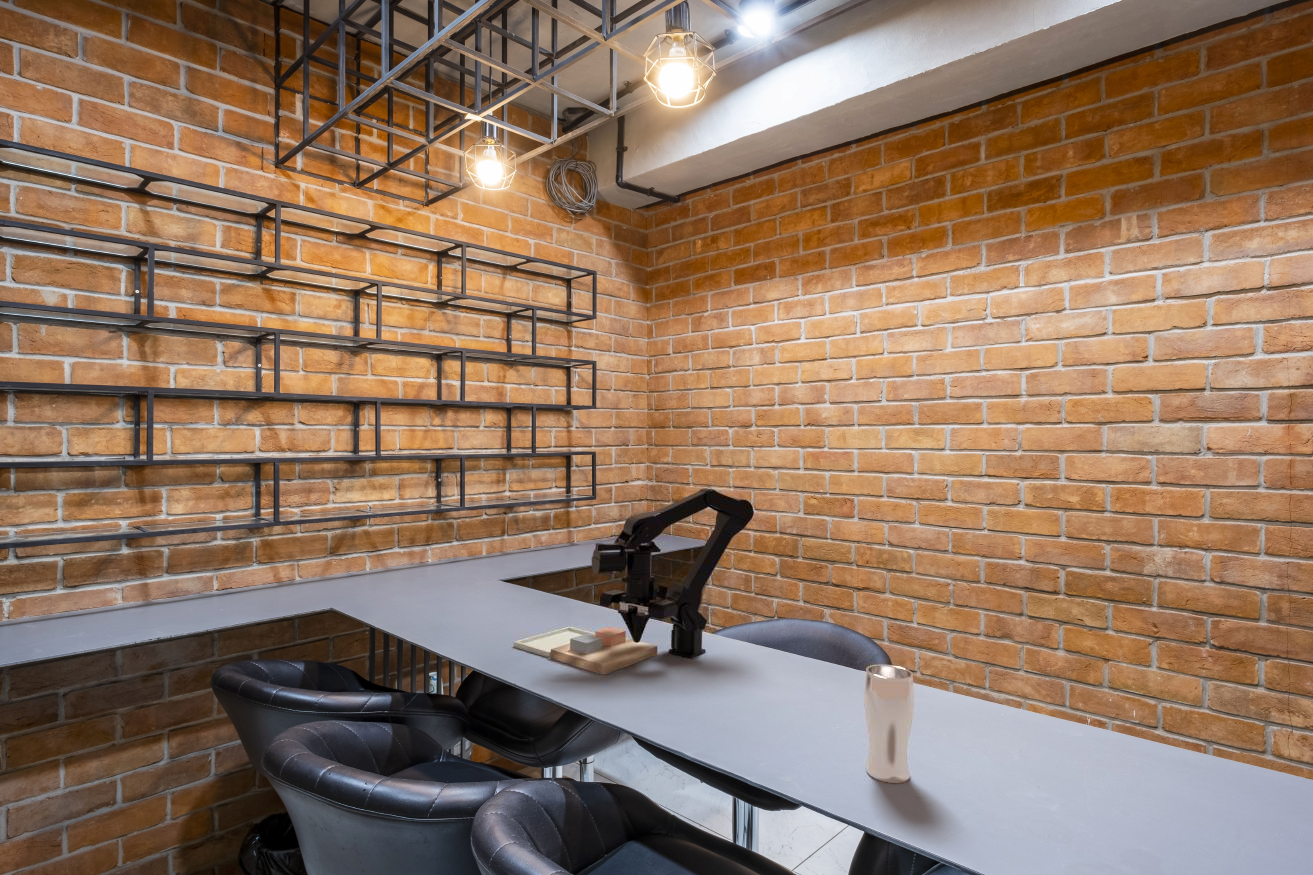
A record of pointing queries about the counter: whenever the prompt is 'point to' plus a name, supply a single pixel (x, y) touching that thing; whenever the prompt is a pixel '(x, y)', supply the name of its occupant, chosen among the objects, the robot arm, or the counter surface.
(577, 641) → the grey box
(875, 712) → the beer glass
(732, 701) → the counter surface
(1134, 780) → the counter surface
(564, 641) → the tray
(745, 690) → the counter surface
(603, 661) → the birch board
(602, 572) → the robot arm
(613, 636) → the terracotta block
